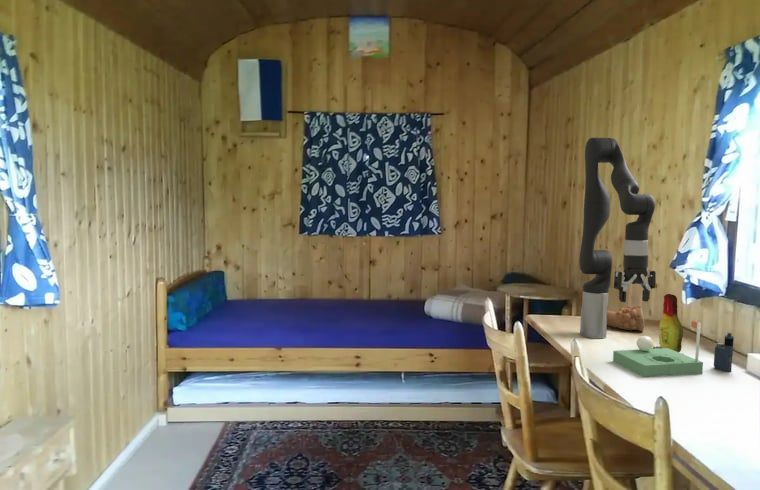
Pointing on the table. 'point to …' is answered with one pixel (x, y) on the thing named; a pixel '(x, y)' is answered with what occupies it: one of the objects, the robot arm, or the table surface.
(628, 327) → the bag of nuts
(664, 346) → the bottle
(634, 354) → the green
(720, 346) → the vaping device
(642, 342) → the ball
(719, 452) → the table surface
